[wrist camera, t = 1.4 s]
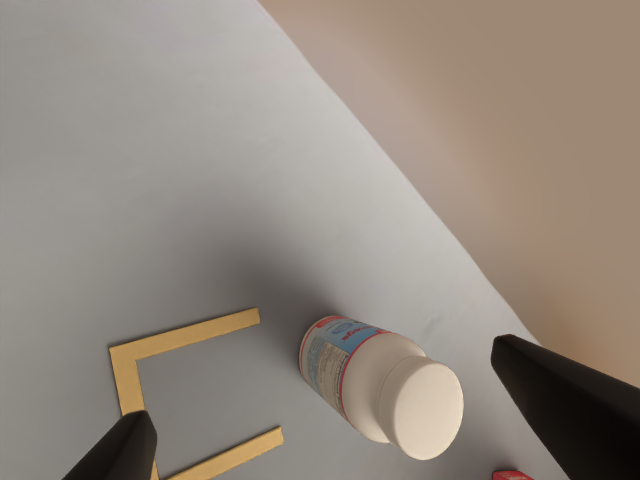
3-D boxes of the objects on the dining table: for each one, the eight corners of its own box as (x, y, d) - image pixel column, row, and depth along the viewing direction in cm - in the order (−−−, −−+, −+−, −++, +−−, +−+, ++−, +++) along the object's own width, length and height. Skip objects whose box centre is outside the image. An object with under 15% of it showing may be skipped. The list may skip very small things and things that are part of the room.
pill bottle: (366, 320, 27) (480, 353, 17) (353, 392, 26) (467, 475, 16) (304, 308, 24) (393, 339, 14) (288, 387, 23) (371, 481, 13)
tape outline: (282, 441, 23) (283, 442, 23) (141, 510, 19) (141, 513, 19) (256, 307, 23) (257, 307, 23) (109, 347, 19) (109, 348, 19)
